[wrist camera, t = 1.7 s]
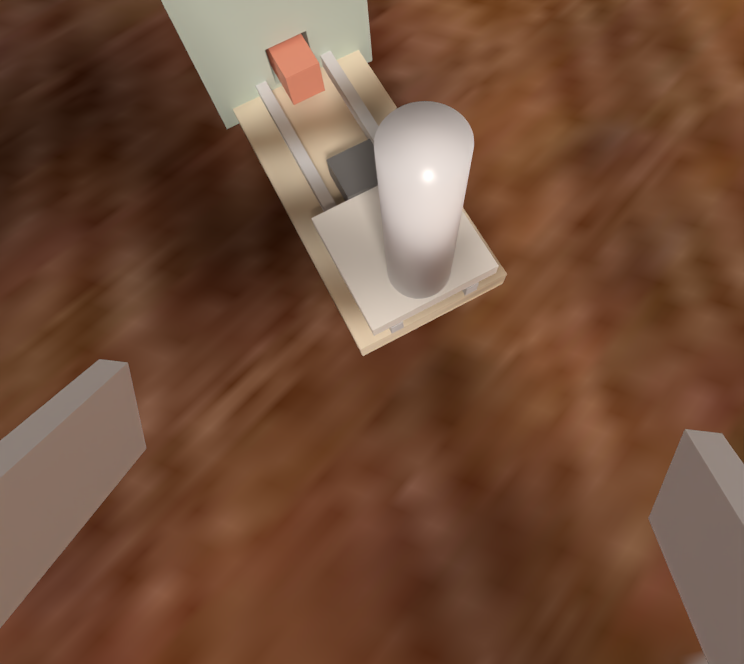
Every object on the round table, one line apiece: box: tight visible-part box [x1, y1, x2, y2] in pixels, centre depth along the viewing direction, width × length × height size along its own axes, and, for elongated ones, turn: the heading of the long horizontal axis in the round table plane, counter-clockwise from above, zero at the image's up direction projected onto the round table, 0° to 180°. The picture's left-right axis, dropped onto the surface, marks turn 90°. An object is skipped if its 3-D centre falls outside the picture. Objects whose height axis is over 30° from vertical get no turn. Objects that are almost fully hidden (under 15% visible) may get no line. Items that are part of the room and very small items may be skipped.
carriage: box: [311, 101, 499, 336], centre depth 26 cm, size 11×8×12 cm
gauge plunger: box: [266, 34, 325, 105], centre depth 35 cm, size 4×2×2 cm, turn 27°
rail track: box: [233, 50, 507, 356], centre depth 34 cm, size 20×10×2 cm, turn 27°
